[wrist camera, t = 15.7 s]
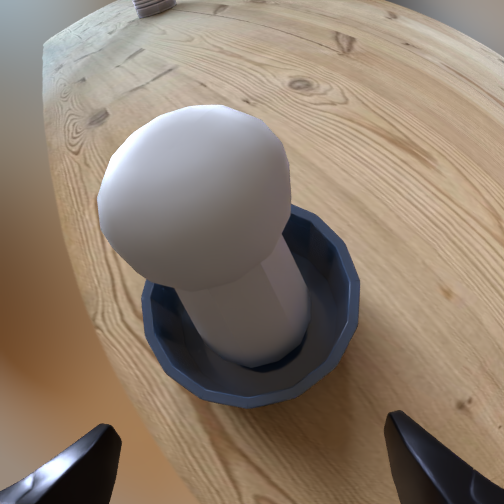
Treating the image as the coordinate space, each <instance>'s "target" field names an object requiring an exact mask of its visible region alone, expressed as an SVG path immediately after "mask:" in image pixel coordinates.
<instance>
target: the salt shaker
mask: <svg viewBox="0 0 504 504" xmlns="http://www.w3.org/2000/svg"><path fill="white" fill-rule="evenodd" d="M97 201H98V211H99V219H100V227H101V231H102V232H103V234H104V235H105V237H106V239H107V240H108V242H109V243H110V245H111V246H112V248H113V249H114V250H115V251H116V252H117V253H118V254H119V255H120V256H121V257H122V258H123V259H124V260H125V261H126V262H127V263H128V264H129V265H130V266H131V267H132V268H133V269H134V270H135V271H136V272H137V273H139V274H140V275H142V276H143V277H145V278H146V279H147V280H149V281H150V282H152V283H156V284H160V285H164V286H168V287H173V288H175V290H176V292H177V294H178V296H179V298H180V300H181V302H182V304H183V305H184V307H185V309H186V311H187V313H188V315H189V316H190V318H191V320H192V322H193V324H194V325H195V327H196V329H197V331H198V333H199V334H200V336H201V338H202V339H203V341H204V343H205V345H206V346H208V347H209V348H210V349H211V350H212V351H214V352H215V353H216V354H217V355H219V356H220V357H221V358H222V359H223V360H225V361H227V362H231V363H235V364H239V365H242V366H246V367H250V368H253V367H257V366H261V365H265V364H269V363H273V362H277V361H279V360H280V359H282V358H283V357H284V356H286V355H287V354H288V353H290V352H291V351H292V350H293V349H295V348H296V347H297V346H298V345H300V344H301V341H302V339H303V337H304V334H305V332H306V330H307V327H308V325H309V323H310V320H311V304H310V292H309V290H308V288H307V286H306V284H305V282H304V280H303V277H302V275H301V273H300V271H299V269H298V267H297V265H296V263H295V261H294V258H293V256H292V254H291V252H290V250H289V248H288V246H287V244H286V242H285V240H284V238H283V236H282V232H283V230H284V228H285V226H286V223H287V221H288V219H289V217H290V213H291V185H290V170H289V162H288V159H287V156H286V153H285V150H284V147H283V144H282V142H281V141H280V140H279V139H278V138H277V136H276V135H275V134H274V133H273V132H272V131H271V130H270V129H269V127H268V126H267V125H266V124H265V123H264V122H263V121H262V120H261V119H258V118H256V117H253V116H251V115H248V114H245V113H243V112H240V111H237V110H234V109H232V108H229V107H226V106H223V105H201V106H189V107H185V108H182V109H179V110H176V111H173V112H170V113H166V114H163V115H161V116H158V117H157V118H155V119H154V120H152V121H151V122H149V123H148V124H146V125H144V126H143V127H141V128H140V129H138V130H137V131H135V132H134V133H133V134H132V135H131V136H130V137H129V138H128V139H127V140H126V141H125V142H124V143H123V145H122V146H121V147H120V148H119V149H118V150H117V151H116V152H115V154H114V155H113V156H112V157H111V160H110V162H109V165H108V168H107V170H106V173H105V176H104V178H103V181H102V184H101V187H100V191H99V194H98V197H97Z"/></svg>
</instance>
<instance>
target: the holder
mask: <svg viewBox="0 0 504 504" xmlns="http://www.w3.org/2000/svg"><path fill="white" fill-rule="evenodd" d="M282 236H283V238H284V240H285V242H286V244H287V246H288V248H289V250H290V252H291V254H292V256H293V258H294V261H295V263H296V265H297V267H298V269H299V271H300V273H301V275H302V277H303V280H304V282H305V284H306V286H307V288H308V290H309V292H310V304H311V320H310V323H309V325H308V327H307V330H306V332H305V334H304V337H303V339H302V341H301V344H300V345H298V346H297V347H296V348H295V349H293V350H292V351H291V352H290V353H288V354H287V355H286V356H284V357H283V358H282V359H280V360H279V361H277V362H273V363H269V364H265V365H261V366H257V367H253V368H250V367H246V366H242V365H239V364H235V363H231V362H227V361H225V360H223V359H222V358H221V357H220V356H219V355H217V354H216V353H215V352H214V351H212V350H211V349H210V348H209V347H208V346H206V345H205V343H204V341H203V339H202V338H201V336H200V334H199V333H198V331H197V329H196V327H195V325H194V324H193V322H192V320H191V318H190V316H189V315H188V313H187V311H186V309H185V307H184V305H183V304H182V302H181V300H180V298H179V296H178V294H177V292H176V290H175V288H173V287H168V286H164V285H160V284H156V283H152V282H150V281H149V280H147V279H146V282H145V286H144V289H143V293H142V298H141V301H142V312H143V322H144V331H145V337H146V339H147V341H148V343H149V345H150V347H151V349H152V351H153V352H154V354H155V356H156V358H157V359H158V361H159V363H160V365H161V366H162V368H163V370H164V372H165V373H166V374H167V375H168V376H170V377H171V378H172V379H173V380H175V381H176V382H177V383H179V384H180V385H182V386H183V387H184V388H186V389H187V390H188V391H190V392H191V393H193V394H194V395H195V396H197V397H198V398H200V399H202V400H205V401H209V402H214V403H218V404H223V405H228V406H233V407H239V408H244V409H252V408H257V407H261V406H266V405H270V404H274V403H279V402H283V401H287V400H290V399H294V398H296V397H299V396H300V395H301V394H303V393H304V392H305V391H307V390H308V389H309V388H311V387H312V386H313V385H315V384H316V383H317V382H318V381H320V380H321V379H322V378H324V377H325V376H326V375H327V374H329V373H330V372H331V371H332V370H334V369H335V367H336V366H337V365H338V363H339V361H340V360H341V358H342V356H343V354H344V352H345V350H346V348H347V346H348V344H349V342H350V341H351V339H352V337H353V335H354V333H355V331H356V329H357V327H358V319H359V301H360V279H359V277H358V274H357V272H356V269H355V266H354V264H353V261H352V259H351V256H350V254H349V252H348V249H347V247H346V244H345V243H344V241H343V240H342V239H341V238H340V237H339V236H338V235H337V234H336V233H335V232H334V231H333V230H332V229H331V228H330V227H329V226H328V225H327V224H326V223H325V222H324V221H323V220H321V219H320V218H319V217H318V216H317V215H316V214H314V213H311V212H309V211H307V210H304V209H302V208H300V207H297V206H295V205H293V204H291V213H290V217H289V219H288V221H287V223H286V226H285V228H284V230H283V232H282Z"/></svg>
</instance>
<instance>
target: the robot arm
mask: <svg viewBox="0 0 504 504" xmlns="http://www.w3.org/2000/svg"><path fill="white" fill-rule="evenodd" d="M384 436H385V441H386V446H387V451H388V457H389V462H390V468H391V473H392V476H393V480H394V483H395V486H396V489H397V493H398V496H399V499H400V503H401V504H504V489H503V488H501V487H499V486H498V485H496V484H494V483H493V482H491V481H490V480H488V479H487V478H486V477H484V476H483V475H481V474H480V473H479V472H478V471H476V470H475V469H474V470H473V468H472V467H471V466H470V465H468V464H467V463H466V462H465V461H463V460H462V459H461V458H460V457H458V456H457V455H456V454H455V453H453V452H452V451H451V450H450V449H448V448H447V447H446V446H445V445H443V444H442V443H441V442H440V441H438V440H437V439H436V438H435V437H433V436H432V435H431V434H430V433H428V432H427V431H426V430H425V429H423V428H422V427H421V426H420V425H419V424H417V423H416V422H415V421H414V420H412V419H411V418H410V417H409V416H408V415H406V414H405V413H404V412H403V411H401V410H397V411H393V412H390V413H388V415H387V418H386V422H385V426H384ZM121 446H122V441H121V438H120V436H119V435H118V434H117V432H116V431H115V429H114V428H113V427H112V426H111V425H109V424H103V423H102V424H99V425H98V426H96V427H95V428H94V429H92V430H91V431H90V432H88V433H87V434H86V435H84V436H83V437H82V438H80V439H79V440H77V441H76V442H75V443H74V444H72V445H71V446H69V447H68V448H66V449H65V450H64V451H63V452H61V453H60V454H58V455H57V456H55V457H54V458H53V459H51V460H50V461H48V462H47V463H45V464H44V465H43V466H41V467H40V468H38V469H37V470H35V472H33V473H31V474H30V475H28V476H27V477H25V478H23V479H22V480H20V481H19V482H17V483H15V484H13V485H11V486H10V487H8V488H6V489H4V490H2V491H0V504H109V502H110V498H111V495H112V491H113V487H114V484H115V480H116V475H117V469H118V463H119V457H120V451H121Z"/></svg>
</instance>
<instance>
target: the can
mask: <svg viewBox="0 0 504 504" xmlns="http://www.w3.org/2000/svg"><path fill="white" fill-rule="evenodd" d="M132 1H133V3H134V6H135V9H136V11H137V14H138V17H139V18H143V17H148V16H151V15H154V14H157V13H160V12H162V11H165V10H167V9H170V8H172V7H173V6H175V5H176V1H175V0H132Z"/></svg>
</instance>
